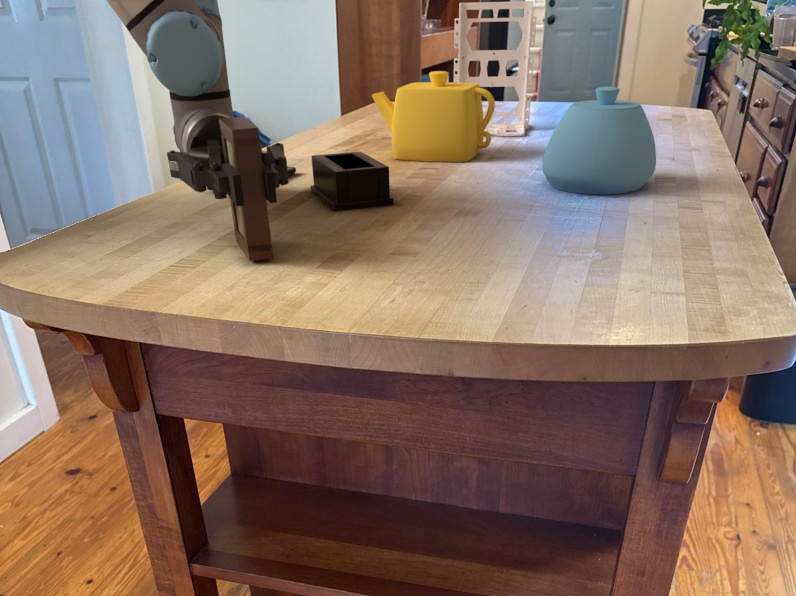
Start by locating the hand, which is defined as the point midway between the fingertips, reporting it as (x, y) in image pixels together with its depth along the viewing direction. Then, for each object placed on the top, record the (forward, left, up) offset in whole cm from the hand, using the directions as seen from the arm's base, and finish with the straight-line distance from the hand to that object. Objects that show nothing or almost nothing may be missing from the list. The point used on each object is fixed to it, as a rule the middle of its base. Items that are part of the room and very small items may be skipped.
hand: (255, 189), depth 72 cm
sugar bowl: (+26, +46, -7) cm, 54 cm away
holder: (-3, +30, -7) cm, 31 cm away
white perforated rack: (0, +88, -7) cm, 89 cm away
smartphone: (-21, +36, -7) cm, 42 cm away
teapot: (-3, +62, -7) cm, 63 cm away
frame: (-4, +4, -7) cm, 9 cm away
